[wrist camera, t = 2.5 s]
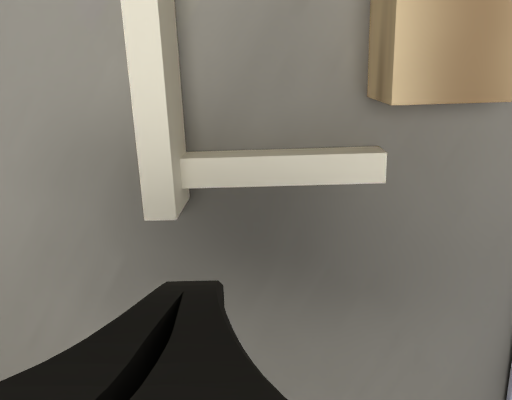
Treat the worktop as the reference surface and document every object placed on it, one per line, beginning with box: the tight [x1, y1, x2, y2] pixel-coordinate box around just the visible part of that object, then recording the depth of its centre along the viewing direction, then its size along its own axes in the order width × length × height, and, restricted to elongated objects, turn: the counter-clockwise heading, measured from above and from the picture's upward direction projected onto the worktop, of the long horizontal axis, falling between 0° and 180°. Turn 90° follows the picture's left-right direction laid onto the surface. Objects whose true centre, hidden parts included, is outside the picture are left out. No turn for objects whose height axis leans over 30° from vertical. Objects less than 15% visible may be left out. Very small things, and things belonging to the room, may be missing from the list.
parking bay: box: [121, 0, 387, 221], centre depth 17 cm, size 9×12×3 cm
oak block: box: [367, 0, 512, 105], centre depth 16 cm, size 5×4×4 cm
